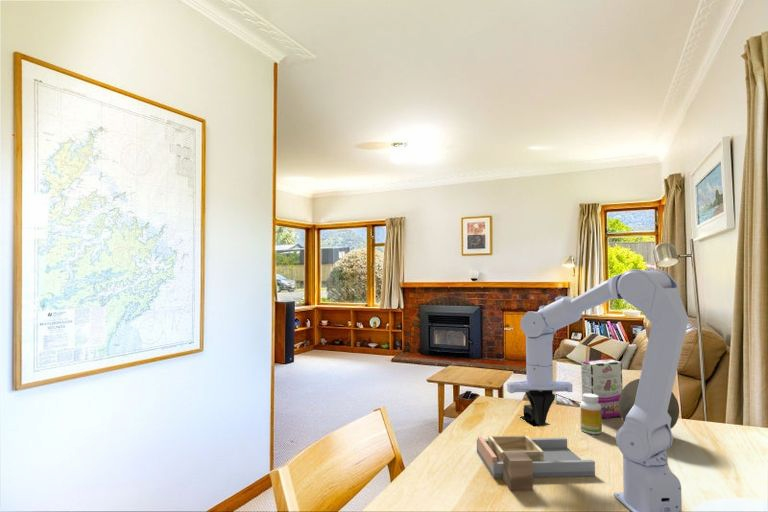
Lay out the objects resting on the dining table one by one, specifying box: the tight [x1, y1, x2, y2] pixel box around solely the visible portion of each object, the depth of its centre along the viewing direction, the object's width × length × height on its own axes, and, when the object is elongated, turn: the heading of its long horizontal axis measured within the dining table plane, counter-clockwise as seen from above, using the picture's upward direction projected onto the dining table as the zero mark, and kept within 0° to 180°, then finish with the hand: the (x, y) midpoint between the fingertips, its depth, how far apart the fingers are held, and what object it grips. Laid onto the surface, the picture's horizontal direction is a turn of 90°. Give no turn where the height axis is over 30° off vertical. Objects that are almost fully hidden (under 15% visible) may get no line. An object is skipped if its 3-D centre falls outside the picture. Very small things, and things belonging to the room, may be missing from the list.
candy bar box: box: [580, 358, 623, 420], centre depth 133 cm, size 11×5×16 cm, turn 105°
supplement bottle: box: [579, 393, 603, 435], centre depth 121 cm, size 5×5×10 cm
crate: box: [487, 435, 544, 462], centre depth 100 cm, size 9×9×3 cm
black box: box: [520, 404, 551, 427], centre depth 129 cm, size 12×7×5 cm, turn 18°
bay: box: [476, 436, 596, 479], centre depth 100 cm, size 14×22×4 cm, turn 93°
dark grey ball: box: [619, 378, 680, 430], centre depth 116 cm, size 14×14×15 cm
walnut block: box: [502, 451, 534, 492], centre depth 90 cm, size 4×4×6 cm
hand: (540, 423), depth 100 cm, fingers closed
